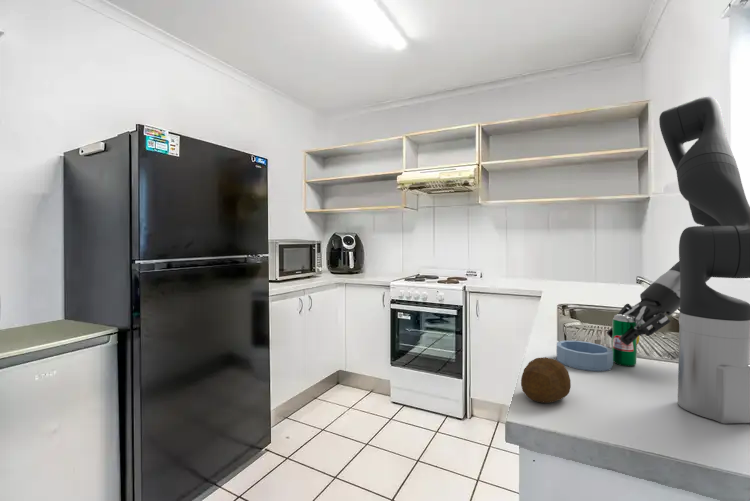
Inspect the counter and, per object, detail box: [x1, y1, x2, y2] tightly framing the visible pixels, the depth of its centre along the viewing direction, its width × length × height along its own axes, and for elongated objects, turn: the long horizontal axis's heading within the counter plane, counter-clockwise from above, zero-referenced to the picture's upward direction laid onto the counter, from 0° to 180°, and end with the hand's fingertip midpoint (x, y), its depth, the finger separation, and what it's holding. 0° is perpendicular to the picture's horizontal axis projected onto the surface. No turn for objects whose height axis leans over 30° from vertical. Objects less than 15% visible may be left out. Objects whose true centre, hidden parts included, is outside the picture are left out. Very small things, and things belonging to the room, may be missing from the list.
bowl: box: [555, 340, 614, 372], centre depth 88 cm, size 12×12×4 cm
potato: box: [520, 356, 572, 404], centre depth 68 cm, size 8×12×8 cm, turn 136°
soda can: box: [611, 314, 638, 367], centre depth 88 cm, size 5×5×12 cm
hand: (616, 338), depth 88 cm, fingers closed on soda can, 5 cm apart
